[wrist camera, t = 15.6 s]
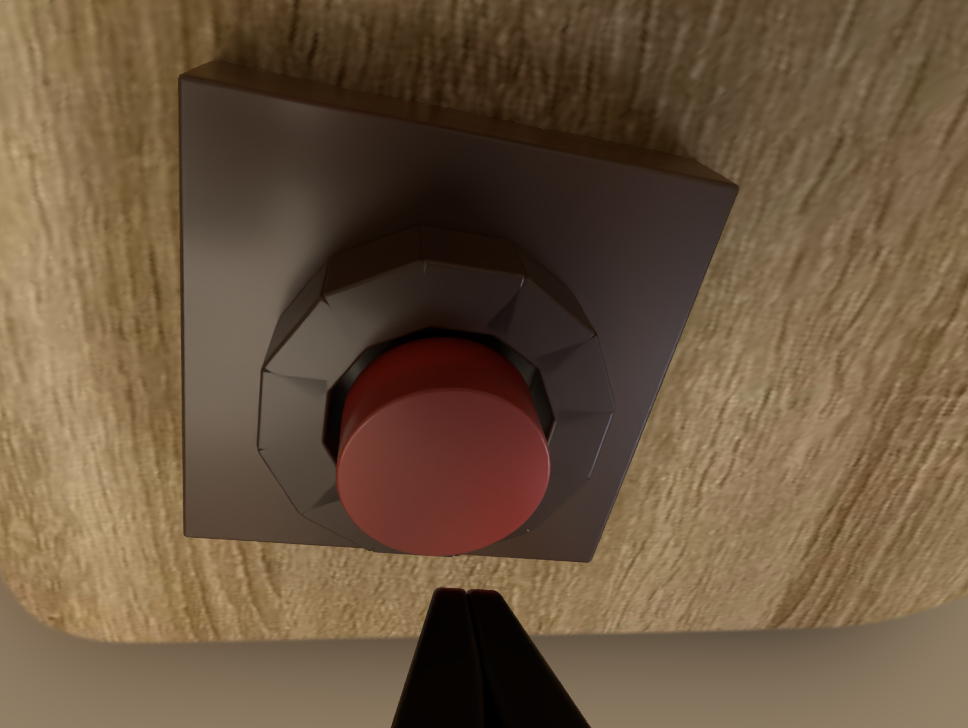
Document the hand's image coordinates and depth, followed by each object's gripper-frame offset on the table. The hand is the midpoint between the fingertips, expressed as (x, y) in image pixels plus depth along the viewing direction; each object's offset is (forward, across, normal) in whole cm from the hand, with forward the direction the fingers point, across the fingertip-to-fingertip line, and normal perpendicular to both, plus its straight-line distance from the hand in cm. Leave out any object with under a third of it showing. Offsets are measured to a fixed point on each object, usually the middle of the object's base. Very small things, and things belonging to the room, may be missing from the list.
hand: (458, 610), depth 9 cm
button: (+5, 0, 0) cm, 5 cm away
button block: (+8, 0, 0) cm, 8 cm away
